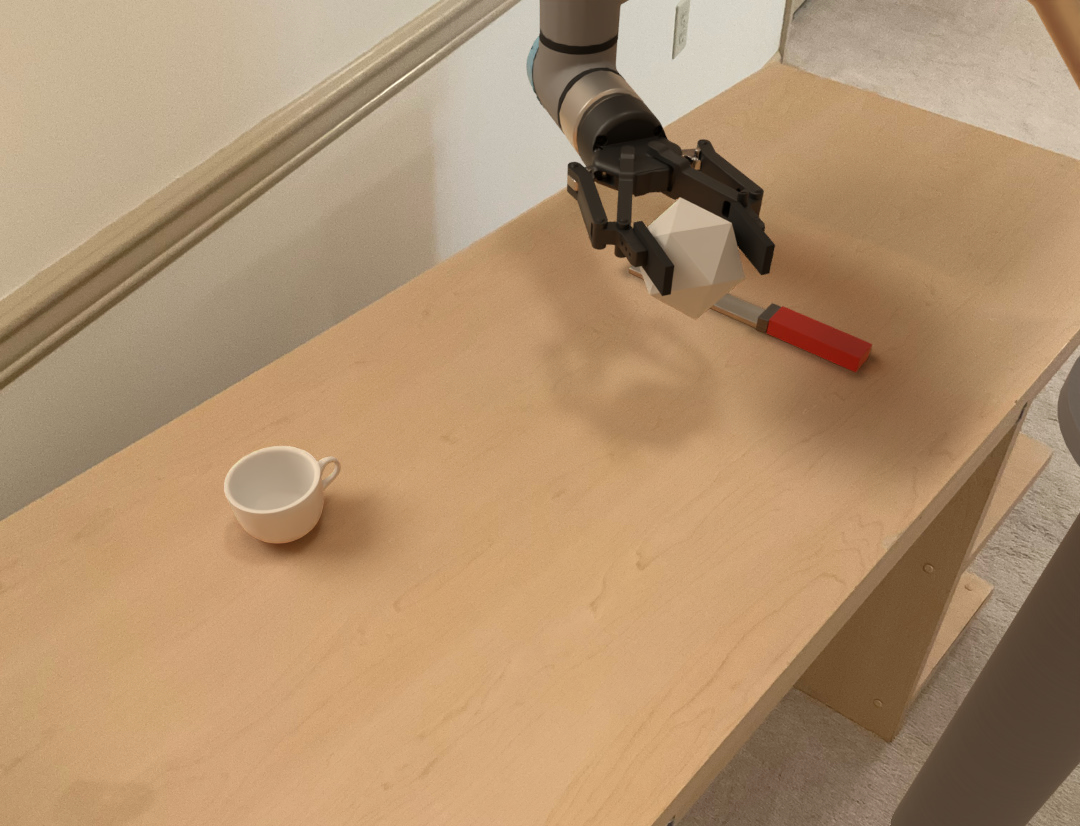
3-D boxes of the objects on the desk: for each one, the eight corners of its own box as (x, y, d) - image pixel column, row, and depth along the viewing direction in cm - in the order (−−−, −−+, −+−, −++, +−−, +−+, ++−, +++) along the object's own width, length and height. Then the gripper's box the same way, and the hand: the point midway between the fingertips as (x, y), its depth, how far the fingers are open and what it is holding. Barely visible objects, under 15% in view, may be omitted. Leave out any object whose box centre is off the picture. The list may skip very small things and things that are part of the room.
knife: (868, 357, 101) (873, 343, 100) (855, 373, 100) (859, 358, 98) (642, 260, 112) (643, 246, 110) (627, 273, 110) (628, 259, 109)
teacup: (267, 571, 83) (253, 529, 79) (221, 517, 87) (206, 474, 83) (369, 514, 88) (361, 470, 83) (321, 464, 91) (311, 420, 87)
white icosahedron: (756, 308, 88) (743, 188, 86) (733, 317, 80) (718, 186, 78) (662, 322, 92) (647, 207, 89) (632, 332, 84) (614, 206, 81)
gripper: (709, 151, 99) (824, 284, 86) (506, 188, 95) (593, 334, 81) (720, 75, 94) (845, 205, 80) (505, 110, 89) (598, 254, 75)
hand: (718, 270), depth 80 cm, fingers closed on white icosahedron, 8 cm apart
